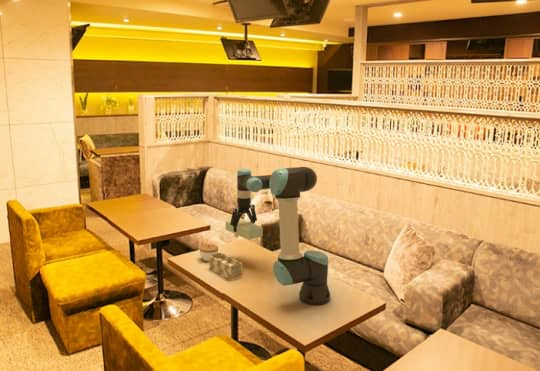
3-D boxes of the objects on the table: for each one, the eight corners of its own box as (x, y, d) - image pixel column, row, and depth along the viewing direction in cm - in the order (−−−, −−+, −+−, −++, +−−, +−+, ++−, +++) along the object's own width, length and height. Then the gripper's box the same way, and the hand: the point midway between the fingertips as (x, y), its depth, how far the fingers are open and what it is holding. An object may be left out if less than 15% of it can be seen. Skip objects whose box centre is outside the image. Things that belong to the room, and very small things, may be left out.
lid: (262, 236, 256) (262, 227, 255) (248, 239, 250) (248, 231, 249) (239, 226, 272) (239, 218, 271) (225, 229, 266) (225, 221, 265)
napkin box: (242, 277, 247) (242, 263, 245) (230, 281, 242) (230, 266, 240) (221, 265, 262) (221, 252, 260) (209, 269, 257) (209, 255, 255)
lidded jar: (210, 264, 263) (210, 249, 261) (196, 260, 268) (195, 245, 266) (222, 258, 272) (221, 243, 270) (207, 255, 277) (207, 240, 275)
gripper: (255, 192, 266) (255, 229, 271) (223, 198, 252) (223, 237, 257) (263, 195, 261) (263, 232, 266) (231, 201, 246) (231, 241, 251)
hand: (243, 235), depth 261 cm, fingers closed on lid, 10 cm apart
